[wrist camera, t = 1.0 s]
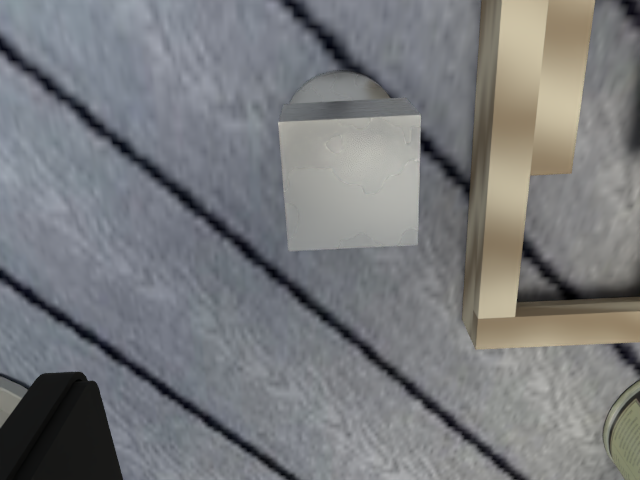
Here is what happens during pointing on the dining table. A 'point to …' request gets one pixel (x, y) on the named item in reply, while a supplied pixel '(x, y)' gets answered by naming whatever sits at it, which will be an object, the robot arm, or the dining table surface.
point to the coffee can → (625, 433)
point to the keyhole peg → (349, 165)
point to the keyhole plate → (527, 173)
